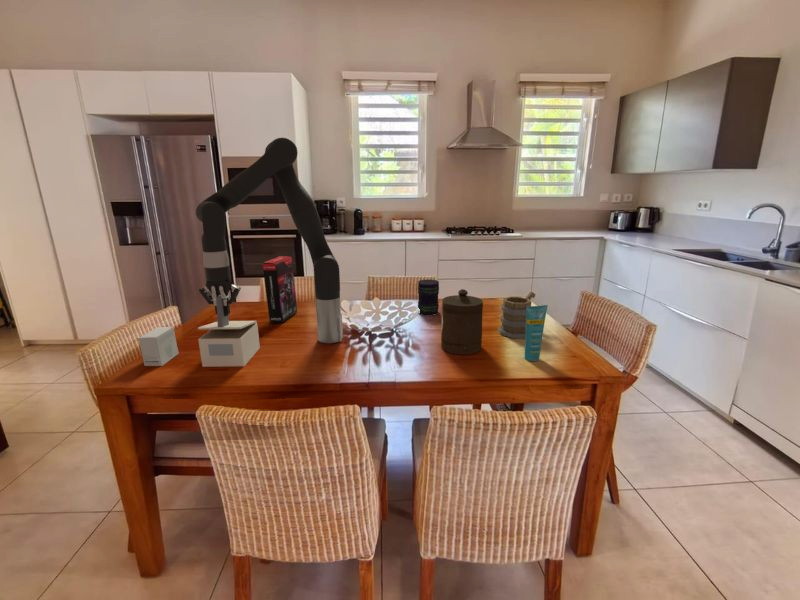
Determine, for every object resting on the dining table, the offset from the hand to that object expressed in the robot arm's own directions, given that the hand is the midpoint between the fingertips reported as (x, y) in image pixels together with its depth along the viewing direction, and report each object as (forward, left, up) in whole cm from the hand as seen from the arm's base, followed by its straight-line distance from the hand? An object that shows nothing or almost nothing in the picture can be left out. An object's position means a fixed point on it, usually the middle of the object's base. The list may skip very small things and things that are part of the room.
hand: (223, 315), depth 135 cm
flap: (0, -3, -5) cm, 6 cm away
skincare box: (+24, -1, -17) cm, 29 cm away
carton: (0, -3, -16) cm, 17 cm away
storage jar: (-73, -53, -17) cm, 92 cm away
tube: (-105, +1, -17) cm, 106 cm away
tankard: (-109, -27, -17) cm, 114 cm away
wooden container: (-82, -10, -17) cm, 84 cm away
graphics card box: (-6, -47, -17) cm, 50 cm away
